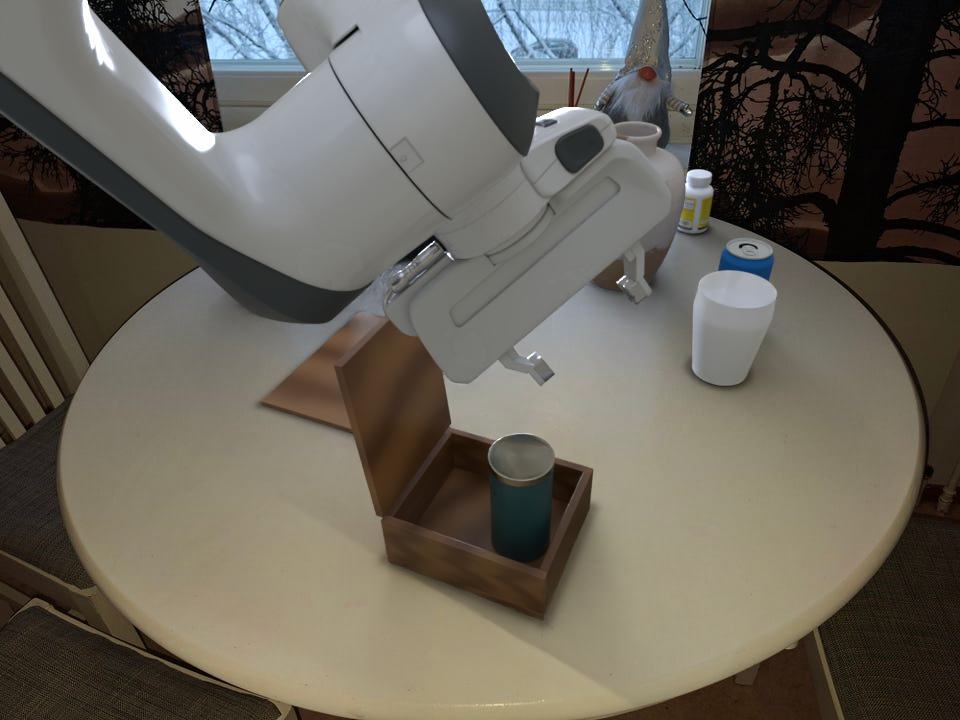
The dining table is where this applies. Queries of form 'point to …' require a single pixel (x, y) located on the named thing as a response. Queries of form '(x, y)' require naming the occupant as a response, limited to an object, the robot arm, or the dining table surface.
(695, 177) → the supplement bottle
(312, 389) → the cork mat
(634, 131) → the vase
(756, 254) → the beverage can
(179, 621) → the dining table surface
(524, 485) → the tea tin
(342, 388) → the chest lid
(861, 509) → the dining table surface
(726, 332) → the cup
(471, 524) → the chest
